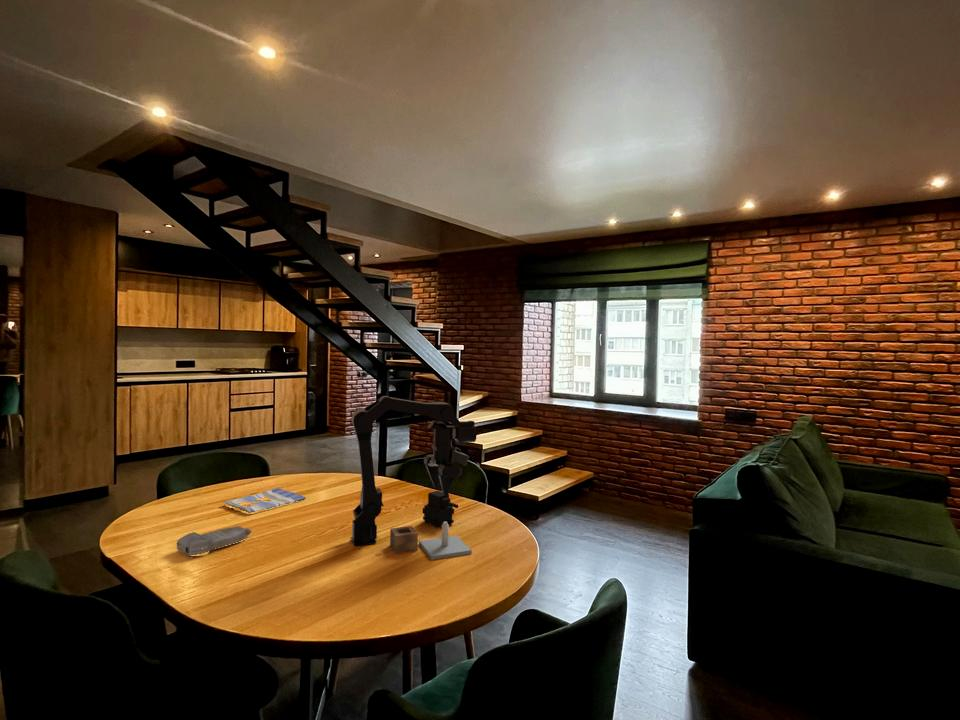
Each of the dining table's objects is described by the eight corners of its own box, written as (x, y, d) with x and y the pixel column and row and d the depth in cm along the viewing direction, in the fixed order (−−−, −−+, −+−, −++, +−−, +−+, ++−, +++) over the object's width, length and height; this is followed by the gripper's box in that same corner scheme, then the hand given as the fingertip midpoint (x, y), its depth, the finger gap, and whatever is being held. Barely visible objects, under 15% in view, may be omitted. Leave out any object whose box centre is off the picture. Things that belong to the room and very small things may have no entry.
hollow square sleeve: (395, 553, 145) (395, 536, 145) (390, 545, 151) (390, 528, 151) (417, 550, 147) (417, 533, 147) (411, 542, 153) (411, 525, 153)
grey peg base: (431, 559, 141) (431, 531, 141) (419, 544, 152) (419, 518, 152) (471, 553, 146) (472, 526, 146) (456, 538, 157) (457, 513, 157)
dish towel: (221, 507, 184) (221, 500, 184) (279, 493, 203) (280, 486, 203) (247, 517, 174) (247, 509, 174) (306, 501, 193) (306, 494, 193)
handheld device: (259, 540, 154) (259, 524, 154) (190, 562, 138) (190, 545, 138) (242, 532, 160) (242, 517, 159) (174, 553, 143) (174, 536, 143)
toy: (448, 533, 161) (448, 502, 161) (420, 522, 171) (421, 492, 171) (465, 528, 166) (466, 497, 166) (438, 517, 176) (438, 488, 176)
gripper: (478, 447, 155) (476, 498, 155) (455, 436, 172) (454, 482, 172) (443, 448, 151) (441, 501, 151) (424, 437, 168) (422, 485, 168)
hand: (440, 491), depth 161 cm, fingers open, 9 cm apart
